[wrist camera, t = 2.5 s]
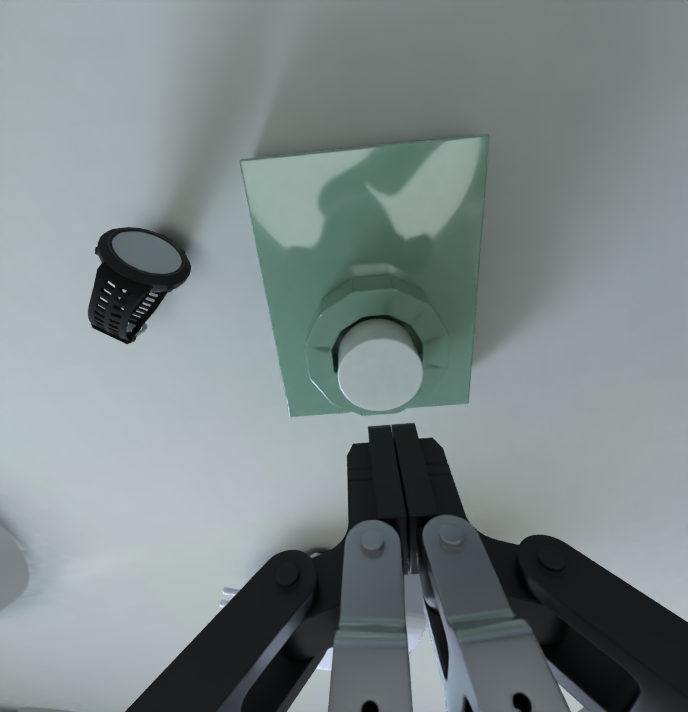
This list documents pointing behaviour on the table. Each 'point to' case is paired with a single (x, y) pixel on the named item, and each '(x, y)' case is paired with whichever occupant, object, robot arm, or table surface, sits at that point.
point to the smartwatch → (133, 279)
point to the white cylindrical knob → (379, 365)
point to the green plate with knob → (370, 259)
